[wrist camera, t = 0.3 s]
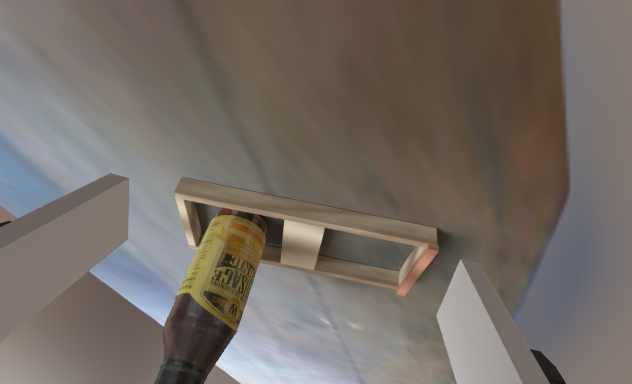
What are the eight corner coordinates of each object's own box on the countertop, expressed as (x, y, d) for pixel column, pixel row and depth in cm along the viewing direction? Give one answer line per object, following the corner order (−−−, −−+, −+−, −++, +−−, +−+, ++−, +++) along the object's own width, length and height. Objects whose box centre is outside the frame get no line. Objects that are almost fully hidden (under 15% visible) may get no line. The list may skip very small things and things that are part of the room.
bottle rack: (181, 177, 36) (171, 197, 34) (437, 228, 36) (439, 251, 34) (196, 234, 44) (188, 252, 43) (404, 275, 44) (404, 295, 43)
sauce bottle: (280, 231, 41) (225, 443, 28) (236, 238, 44) (168, 434, 31) (247, 195, 37) (165, 425, 24) (200, 205, 39) (105, 417, 27)
